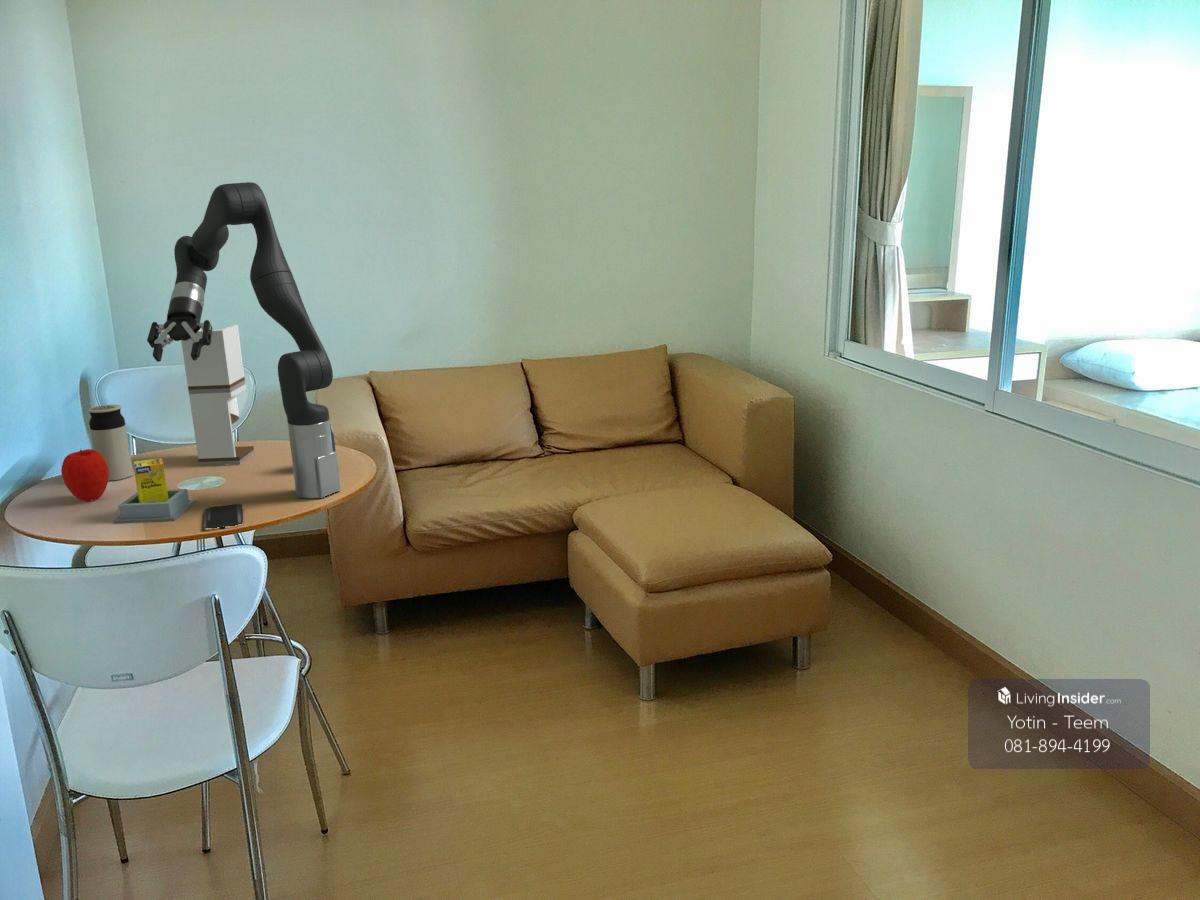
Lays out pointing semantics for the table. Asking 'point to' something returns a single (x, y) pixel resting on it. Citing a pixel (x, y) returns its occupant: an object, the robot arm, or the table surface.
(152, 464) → the supplement box
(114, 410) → the travel mug
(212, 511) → the phone
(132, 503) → the holder
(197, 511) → the table surface
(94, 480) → the apple
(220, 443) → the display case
